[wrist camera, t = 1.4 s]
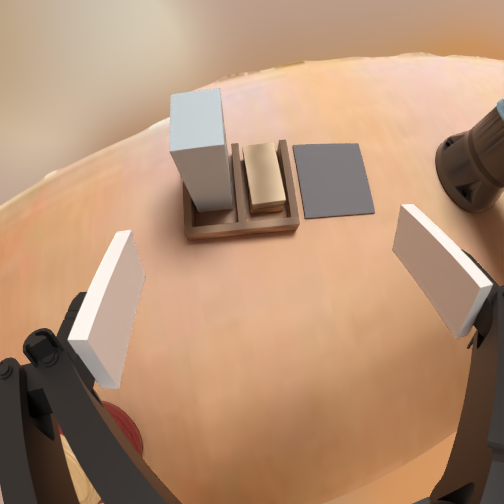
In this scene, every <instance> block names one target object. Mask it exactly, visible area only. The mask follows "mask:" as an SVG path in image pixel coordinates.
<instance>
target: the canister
mask: <svg viewBox="0 0 504 504" xmlns="http://www.w3.org/2000/svg"><path fill="white" fill-rule="evenodd" d="M102 403H103V404H104V406H105V407H106V409H107V410H108V412H109V413H110V415H111V416H112V418H113V419H114V421H115V422H116V424H117V425H118V427H119V428H120V429H121V431H122V432H123V434H124V435H125V436H126V438H127V439H128V441H129V442H130V443H131V445H132V446H133V447H134V449H135V450H136V451H137V452H138V454H139V455H140V456H141V454H142V439H141V435H140V433H139V430H138V428H137V427H136V425H135V423H134V422H133V421H132V419H131V418H130V417H129V416H128V415H127V414H126V413H125V412H124V411H122V410H121V409H120V408H118V407H117V406H115V405H113V404H111V403H108V402H105V401H102ZM58 427H59V432H60V436H61V441H62V445H63V449H64V453H65V457H66V461H67V464H68V468H69V472H70V475H71V478H72V481H73V485H74V488H75V491H76V494H77V497H78V500H79V502H80V504H101V503H104V502H103V501H102V499H101V498H100V496H99V495H98V493H97V492H96V490H95V489H94V487H93V486H92V484H91V482H90V481H89V479H88V478H87V476H86V474H85V473H84V471H83V469H82V468H81V466H80V464H79V463H78V461H77V459H76V457H75V455H74V454H73V452H72V450H71V448H70V446H69V444H68V442H67V440H66V438H65V436H64V434H63V432H62V430H61V428H60V426H59V424H58Z"/></svg>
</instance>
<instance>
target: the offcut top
mask: <svg viewBox="0 0 504 504" xmlns="http://www.w3.org/2000/svg"><path fill="white" fill-rule="evenodd" d="M243 157H244V163H245V169H246V175H247V181H248V187H249V193H250V199H251V205H252V209H258V208H265V207H272V206H279V205H284V204H285V201H286V198H285V193H284V188H283V183H282V179H281V174H280V169H279V165H278V160H277V155H276V151H275V146H274V143H266V144H257V145H250V146H243Z"/></svg>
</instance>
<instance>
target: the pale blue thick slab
mask: <svg viewBox="0 0 504 504" xmlns="http://www.w3.org/2000/svg"><path fill="white" fill-rule="evenodd" d="M170 154H171V156H172V158H173V160H174V162H175V164H176V166H177V168H178V171H179V173H180V175H181V177H182V179H183V181H184V183H185V185H186V187H187V189H188V191H189V194H190V196H191V198H192V200H193V202H194V204H195V206H196V208H197V210H198V212H207V211H216V210H225V209H233V201H232V190H231V179H230V168H229V159H228V151H227V143H226V135H225V126H224V118H223V110H222V101H221V93H220V88H216V89H207V90H199V91H192V92H185V93H178V94H172V95H171V110H170Z"/></svg>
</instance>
